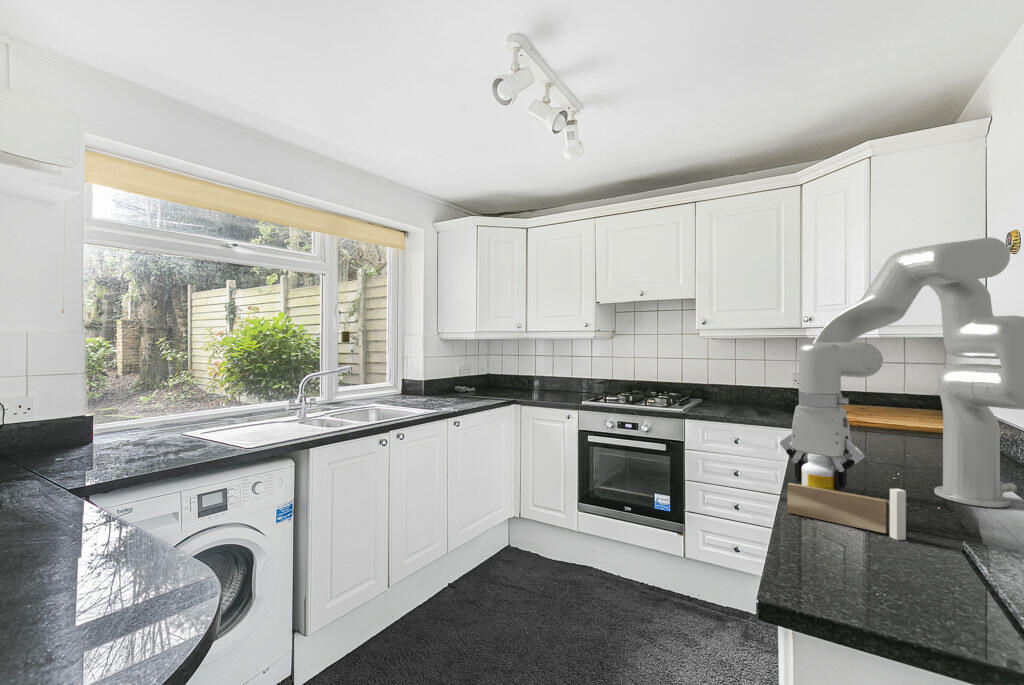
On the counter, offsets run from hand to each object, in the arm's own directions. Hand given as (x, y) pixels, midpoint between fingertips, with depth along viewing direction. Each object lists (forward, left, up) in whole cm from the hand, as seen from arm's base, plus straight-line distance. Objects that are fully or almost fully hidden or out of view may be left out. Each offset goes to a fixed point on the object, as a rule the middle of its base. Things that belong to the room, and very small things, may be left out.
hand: (819, 484), depth 101 cm
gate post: (-5, +13, -6) cm, 15 cm away
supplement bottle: (0, 0, -6) cm, 6 cm away
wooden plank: (0, +6, -6) cm, 8 cm away
